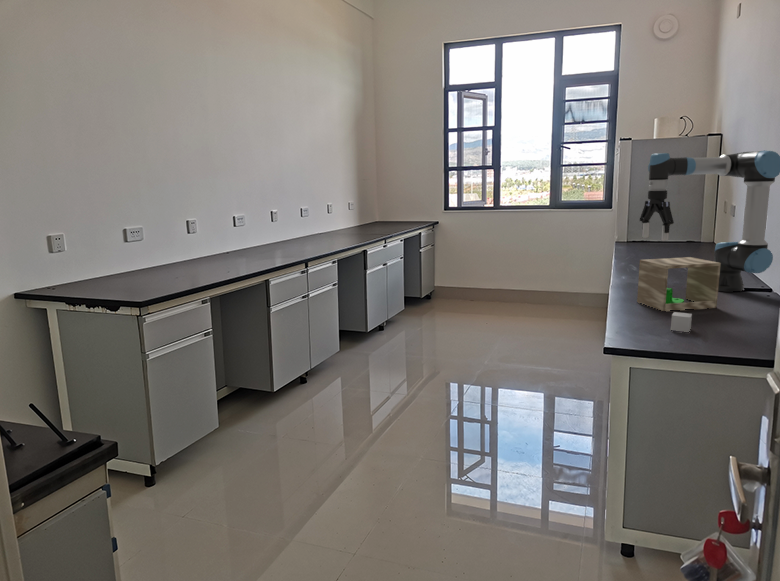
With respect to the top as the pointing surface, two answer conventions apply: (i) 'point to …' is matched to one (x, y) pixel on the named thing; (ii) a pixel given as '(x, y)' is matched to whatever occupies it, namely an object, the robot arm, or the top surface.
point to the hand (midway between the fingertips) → (654, 239)
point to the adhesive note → (681, 321)
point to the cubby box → (698, 283)
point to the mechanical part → (669, 297)
